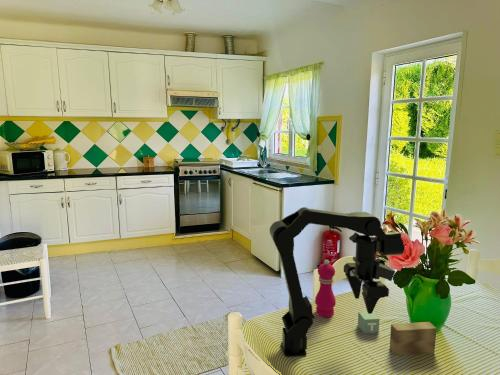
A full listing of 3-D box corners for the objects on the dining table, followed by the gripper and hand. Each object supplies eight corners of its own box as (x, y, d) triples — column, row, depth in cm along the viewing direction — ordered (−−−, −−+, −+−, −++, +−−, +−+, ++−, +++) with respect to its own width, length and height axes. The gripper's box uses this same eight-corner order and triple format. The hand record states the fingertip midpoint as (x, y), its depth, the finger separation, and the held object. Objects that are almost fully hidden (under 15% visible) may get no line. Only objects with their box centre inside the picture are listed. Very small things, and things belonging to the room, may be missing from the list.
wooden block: (395, 355, 102) (397, 330, 101) (389, 348, 105) (391, 324, 104) (434, 353, 103) (436, 328, 102) (427, 346, 106) (429, 321, 105)
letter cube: (364, 334, 113) (364, 319, 112) (357, 325, 118) (358, 311, 117) (378, 333, 113) (379, 319, 113) (371, 324, 118) (372, 310, 118)
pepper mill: (330, 320, 121) (332, 265, 118) (311, 313, 125) (312, 260, 122) (338, 311, 127) (340, 259, 123) (320, 306, 131) (321, 254, 128)
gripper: (409, 266, 94) (405, 320, 96) (377, 244, 112) (375, 290, 115) (369, 268, 93) (366, 322, 95) (343, 245, 111) (342, 292, 114)
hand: (363, 305), depth 105 cm, fingers open, 9 cm apart
